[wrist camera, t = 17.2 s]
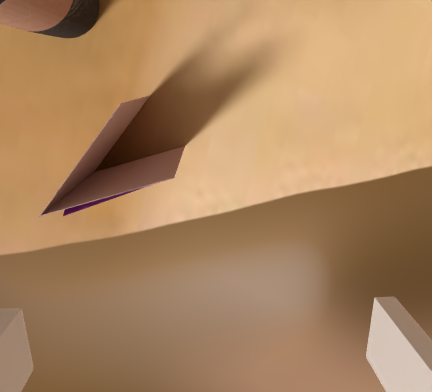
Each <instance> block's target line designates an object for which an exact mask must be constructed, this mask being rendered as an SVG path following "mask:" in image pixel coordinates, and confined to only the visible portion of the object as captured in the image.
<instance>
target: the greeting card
mask: <svg viewBox="0 0 432 392" xmlns="http://www.w3.org/2000/svg"><path fill="white" fill-rule="evenodd" d="M149 97H150V96H147V97H143V98H139V99H136V100H132V101H128V102H125V103H121V104H120V105H119V106H118V108H117V109H116V110H115V112H114V113H113V114H112V116H111V117H110V119H109V120H108V121H107V123H106V124H105V126H104V127H103V128H102V130H101V131H100V132H99V134H98V135H97V137H96V138H95V139H94V141H93V142H92V144H91V145H90V146H89V148H88V149H87V151H86V152H85V153H84V155H83V156H82V157H81V159H80V160H79V162H78V163H77V164H76V166H75V167H74V169H73V170H72V171H71V173H70V174H69V176H68V177H67V178H66V180H65V181H64V182H63V184H62V185H61V187H60V188H59V189H58V191H57V192H56V194H55V195H54V196H53V198H52V199H51V200H50V202H49V203H48V205H47V206H46V207H45V209H44V210H43V212H42V213H41V214H40V216H43V215H47V214H50V213H54V212H57V211H61V210H64V209H65V211H64V214H63V216H65V215H68V214H71V213H74V212H76V211H79V210H82V209H85V208H88V207H91V206H93V205H96V204H99V203H102V202H105V201H108V200H110V199H113V198H116V197H119V196H122V195H125V194H127V193H130V192H133V191H136V190H139V189H142V188H144V187H147V186H150V185H153V184H156V183H159V182H162V181H166V180H169V179H173V178H174V177H175V174H176V171H177V168H178V165H179V162H180V159H181V156H182V153H183V150H184V148H185V146H183V147H180V148H176V149H173V150H169V151H166V152H162V153H159V154H155V155H152V156H148V157H145V158H142V159H138V160H135V161H131V162H128V163H124V164H121V165H117V166H114V167H111V168H107V169H104V170H100V171H97V172H94V171H95V170H96V169H97V167H98V166H99V164H100V163H101V162H102V160H103V159H104V158H105V156H106V155H107V154H108V152H109V151H110V150H111V148H112V147H113V146H114V144H115V143H116V141H117V140H118V139H119V137H120V136H121V135H122V133H123V132H124V131H125V129H126V128H127V127H128V125H129V124H130V122H131V121H132V120H133V118H134V117H135V116H136V114H137V113H138V112H139V110H140V109H141V108H142V106H143V105H144V104H145V102H146V101H147V99H148V98H149Z"/></svg>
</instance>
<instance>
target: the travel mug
mask: <svg viewBox="0 0 432 392" xmlns="http://www.w3.org/2000/svg"><path fill="white" fill-rule="evenodd" d="M98 12H99V0H0V24H4V25H7V26H11V27H14V28H18V29H21V30H25V31H30V32H35V33H40V34H45V35H50V36H55V37H61V38H75V37H79V36H81V35H83V34H85V33H86V32H88V31H89V30H90V29H91V27H92V26H93V25H94V23H95V21H96V19H97V16H98Z"/></svg>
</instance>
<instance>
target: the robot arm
mask: <svg viewBox="0 0 432 392" xmlns="http://www.w3.org/2000/svg"><path fill="white" fill-rule="evenodd" d="M366 357H367V359H368V361H369V363H370V364H371V366H372V368H373V370H374V371H375V373H376V375H377V376H378V378H379V380H380V382H381V383H382V385H383V387H384V389H385V390H386V392H432V340H431V339H430V338H429V336H428V335H427V334H426V333H425V332H424V331H423V330H422V328H421V327H420V326H419V325H418V324H417V323H416V321H415V320H414V319H413V318H412V317H411V316H410V314H409V313H408V312H407V311H406V310H405V309H404V307H403V306H402V305H401V304H400V303H399V302H398V300H397V299H396V298H395V297H375V298H374V305H373V313H372V319H371V326H370V333H369V340H368V346H367V353H366ZM33 369H34V368H33V362H32V357H31V352H30V348H29V342H28V338H27V333H26V328H25V323H24V317H23V312H22V308H7V309H0V392H21V391H22V389H23V387H24V385H25V383H26V382H27V380H28V378H29V376H30V374H31V372H32V371H33Z"/></svg>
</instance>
